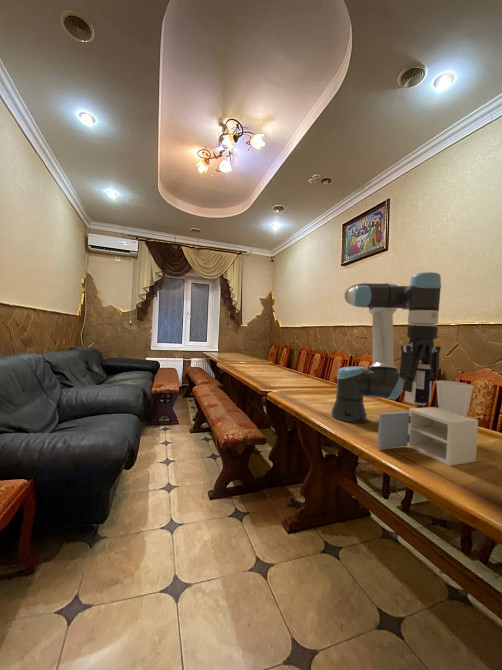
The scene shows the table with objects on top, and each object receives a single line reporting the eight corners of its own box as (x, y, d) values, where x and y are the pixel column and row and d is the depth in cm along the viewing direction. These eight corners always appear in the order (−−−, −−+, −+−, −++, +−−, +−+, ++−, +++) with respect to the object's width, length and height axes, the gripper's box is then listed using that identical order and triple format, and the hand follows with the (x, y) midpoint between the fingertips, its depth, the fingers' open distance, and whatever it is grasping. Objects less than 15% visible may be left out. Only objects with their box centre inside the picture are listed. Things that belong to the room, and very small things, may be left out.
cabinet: (406, 445, 90) (409, 408, 90) (431, 442, 94) (433, 407, 94) (449, 465, 77) (451, 422, 76) (475, 461, 80) (478, 420, 80)
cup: (475, 443, 95) (479, 385, 95) (462, 449, 89) (466, 387, 89) (440, 432, 105) (443, 379, 105) (426, 437, 99) (429, 381, 99)
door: (374, 446, 86) (376, 412, 86) (403, 442, 91) (405, 410, 91) (380, 449, 84) (382, 414, 84) (409, 445, 89) (411, 412, 88)
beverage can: (432, 406, 74) (435, 365, 74) (411, 404, 75) (413, 364, 75) (423, 401, 80) (426, 363, 79) (403, 399, 81) (406, 361, 81)
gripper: (410, 323, 70) (405, 407, 71) (457, 327, 76) (452, 404, 77) (388, 323, 78) (383, 399, 78) (432, 326, 84) (427, 397, 84)
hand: (417, 401), depth 78 cm, fingers closed on beverage can, 6 cm apart
